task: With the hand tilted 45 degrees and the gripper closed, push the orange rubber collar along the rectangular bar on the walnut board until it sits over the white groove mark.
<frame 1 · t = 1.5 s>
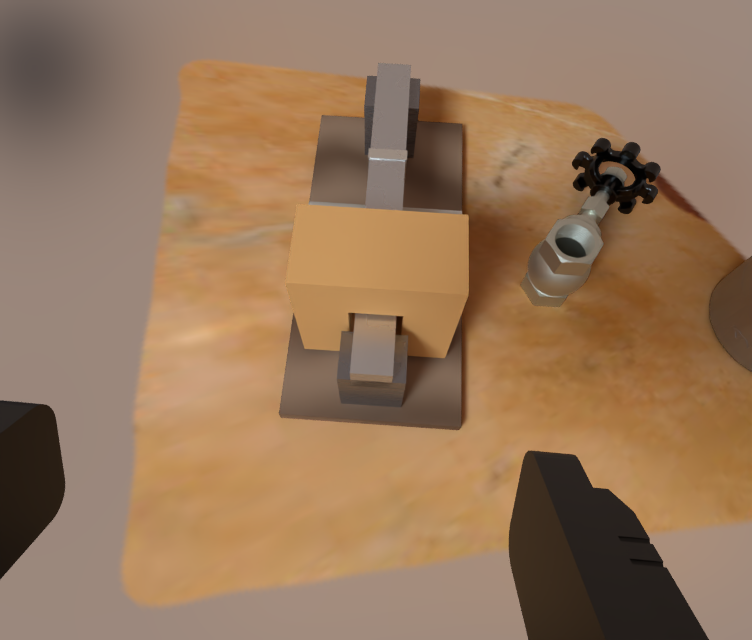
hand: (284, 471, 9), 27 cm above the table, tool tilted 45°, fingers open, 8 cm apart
rectangular bar: (383, 225, 38), on the board, point 4 cm above the table
board: (381, 257, 42), on the table
valve: (566, 252, 43), on the table
collar: (378, 288, 34), point 6 cm above the table, slide at 0.0 cm
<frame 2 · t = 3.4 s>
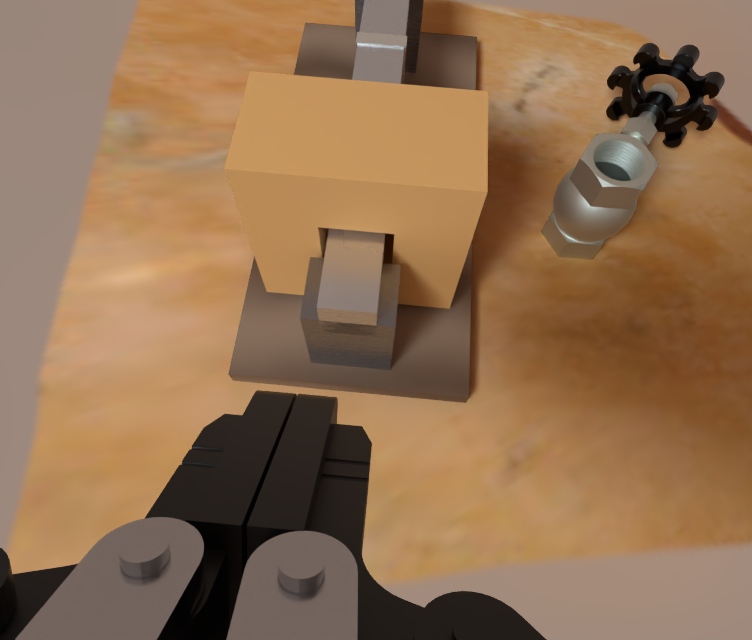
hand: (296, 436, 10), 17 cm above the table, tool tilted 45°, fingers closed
rectangular bar: (374, 137, 29), on the board, point 4 cm above the table
board: (372, 188, 33), on the table
valve: (599, 194, 34), on the table
collar: (362, 205, 25), point 6 cm above the table, slide at 0.0 cm
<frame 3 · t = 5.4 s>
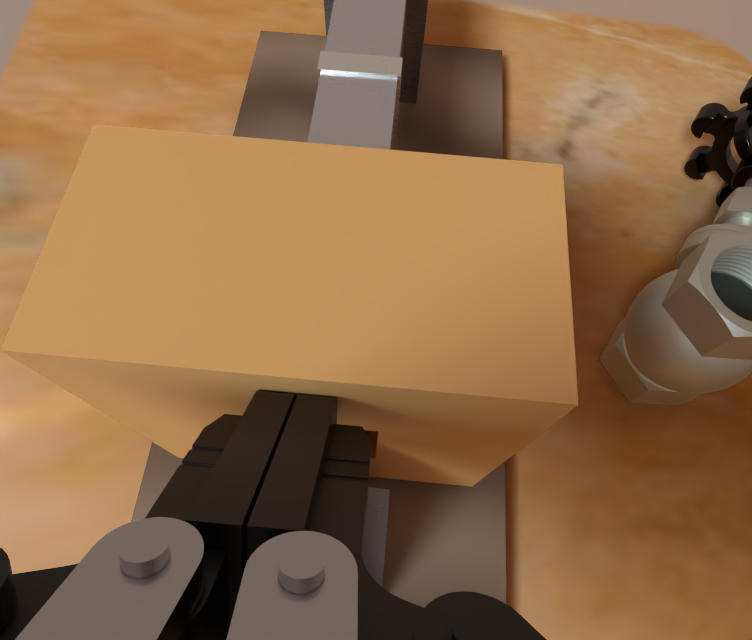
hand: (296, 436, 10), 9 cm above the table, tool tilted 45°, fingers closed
rectangular bar: (350, 217, 18), on the board, point 4 cm above the table
board: (352, 279, 22), on the table
valve: (679, 293, 23), on the table
collar: (325, 346, 14), point 6 cm above the table, slide at 0.5 cm, touching gripper
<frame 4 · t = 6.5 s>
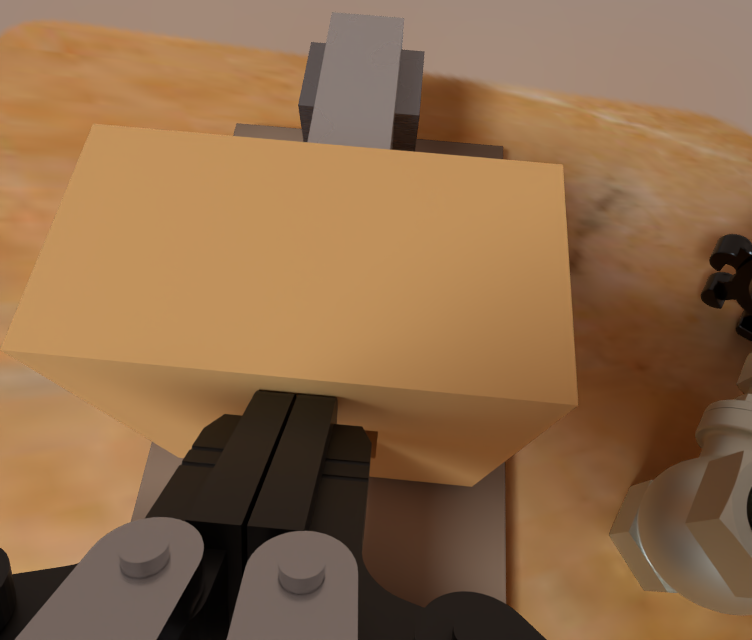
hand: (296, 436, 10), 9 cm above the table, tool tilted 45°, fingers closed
rectangular bar: (326, 390, 16), on the board, point 4 cm above the table
board: (334, 425, 20), on the table
valve: (698, 444, 20), on the table
collar: (325, 346, 14), point 6 cm above the table, slide at 6.6 cm, touching gripper
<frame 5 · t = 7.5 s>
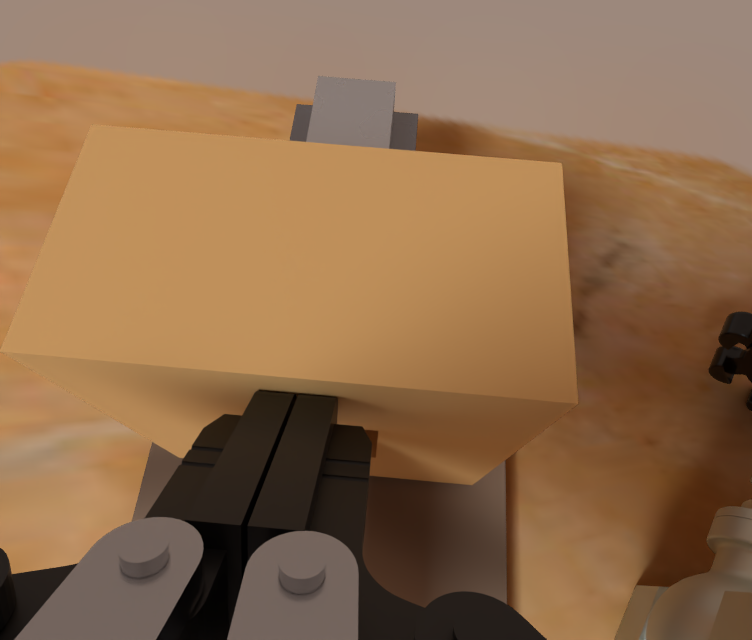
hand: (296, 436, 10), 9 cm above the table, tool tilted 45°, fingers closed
rectangular bar: (312, 496, 15), on the board, point 4 cm above the table
board: (323, 511, 19), on the table
valve: (707, 534, 19), on the table
collar: (324, 345, 14), point 6 cm above the table, slide at 9.6 cm, touching gripper
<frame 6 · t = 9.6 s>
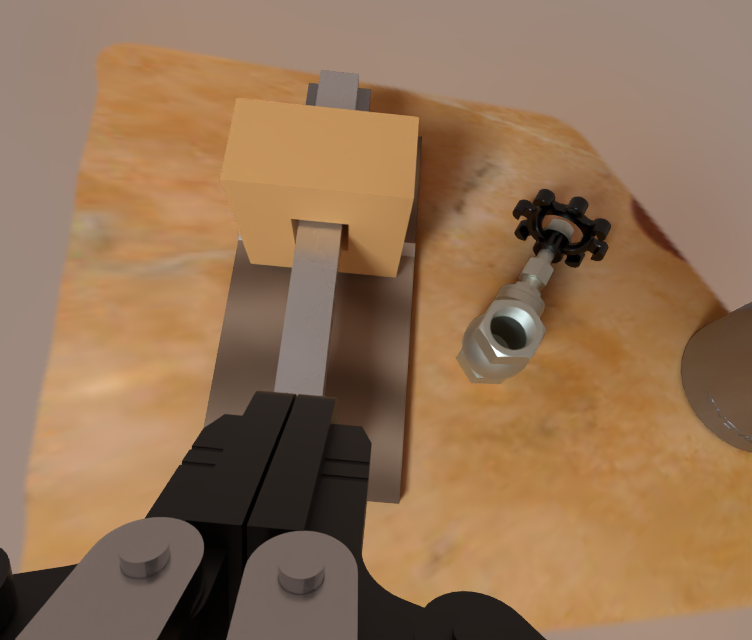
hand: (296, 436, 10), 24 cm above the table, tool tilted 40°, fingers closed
rectangular bar: (320, 267, 33), on the board, point 4 cm above the table
board: (322, 294, 37), on the table
valve: (508, 314, 38), on the table
collar: (325, 198, 32), point 6 cm above the table, slide at 9.6 cm
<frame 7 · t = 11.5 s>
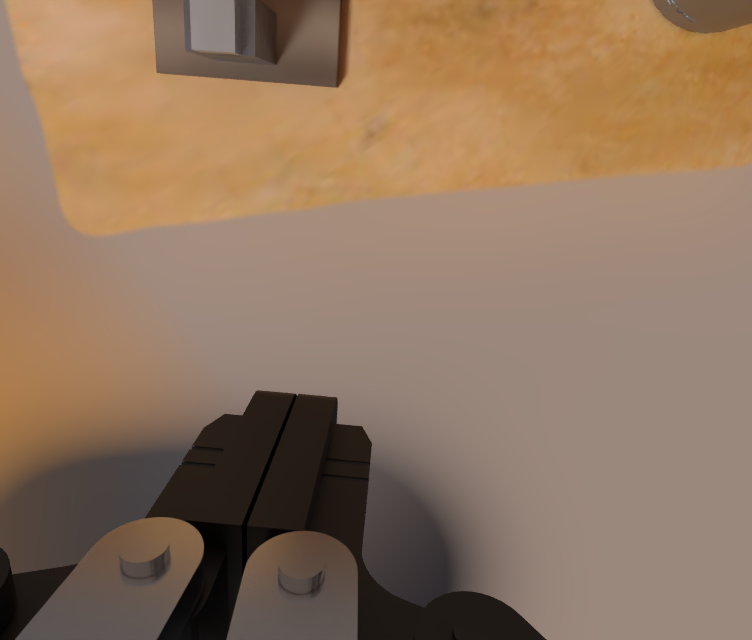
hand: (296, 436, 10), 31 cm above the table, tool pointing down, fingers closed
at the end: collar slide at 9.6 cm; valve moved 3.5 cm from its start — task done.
